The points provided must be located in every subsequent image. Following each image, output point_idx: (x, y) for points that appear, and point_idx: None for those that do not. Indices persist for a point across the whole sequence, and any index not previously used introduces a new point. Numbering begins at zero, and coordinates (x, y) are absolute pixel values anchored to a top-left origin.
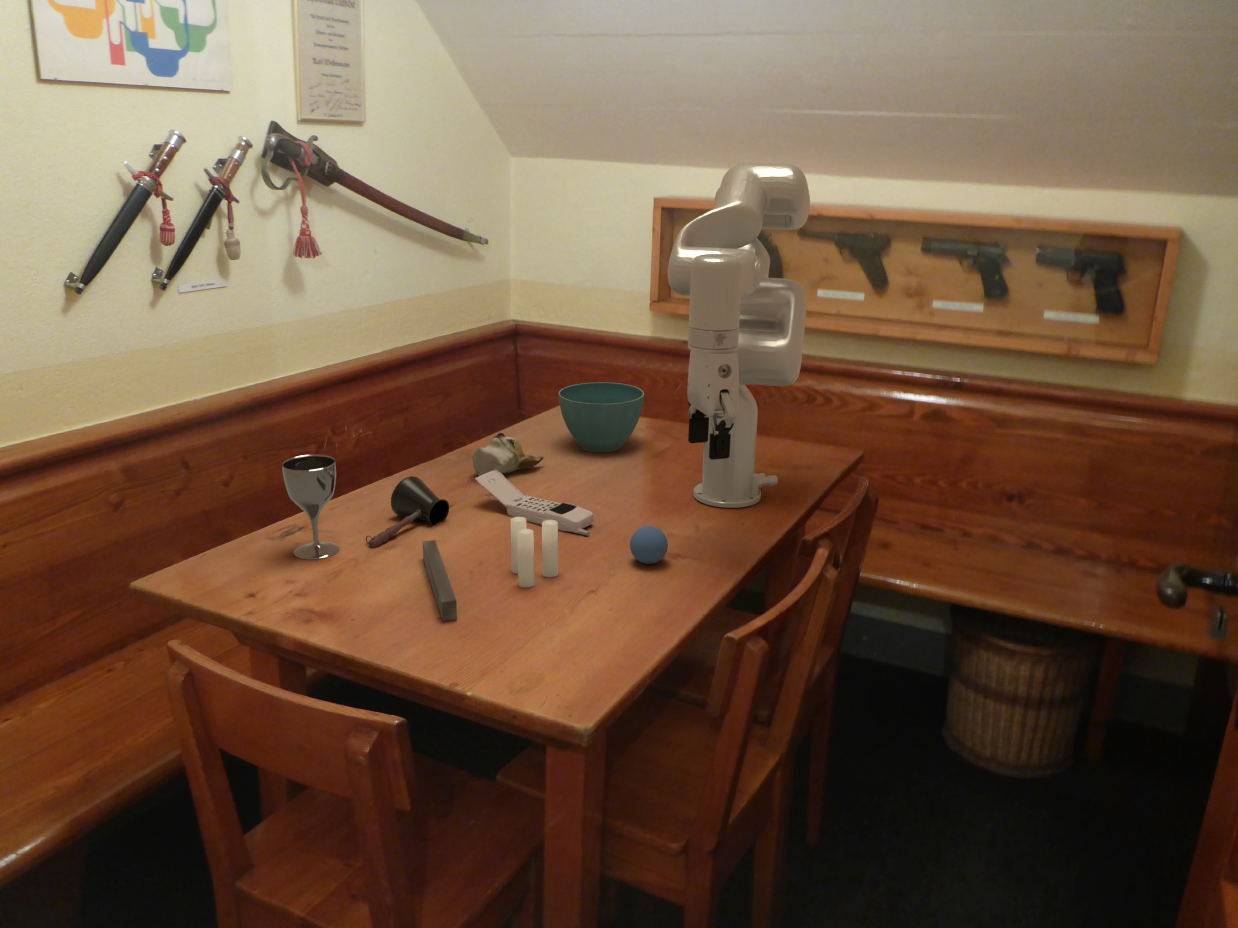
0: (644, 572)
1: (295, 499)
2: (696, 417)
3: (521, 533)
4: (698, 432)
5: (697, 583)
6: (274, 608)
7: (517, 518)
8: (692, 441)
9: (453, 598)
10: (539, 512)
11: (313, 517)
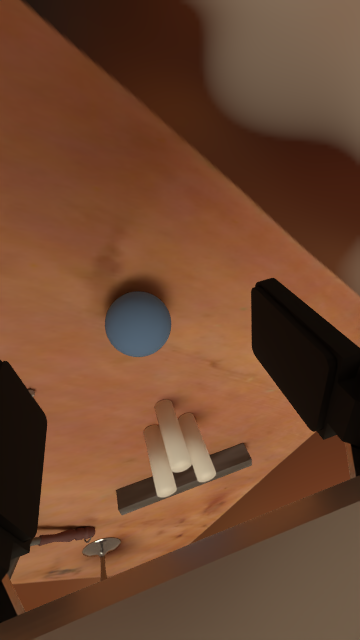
0: (169, 312)
1: None
2: (5, 549)
3: (210, 477)
4: (23, 438)
5: (216, 240)
6: (200, 521)
7: (162, 493)
8: (42, 417)
9: (247, 461)
10: None
11: None
